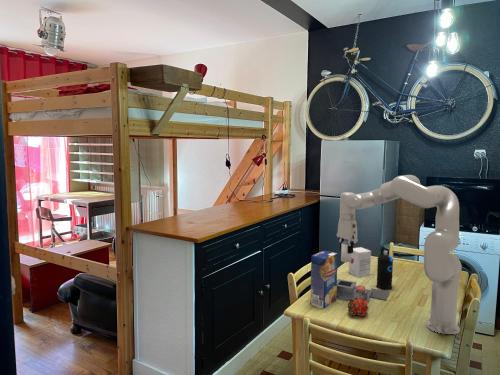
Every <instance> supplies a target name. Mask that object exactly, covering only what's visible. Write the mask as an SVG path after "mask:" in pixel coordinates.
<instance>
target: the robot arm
mask: <svg viewBox="0 0 500 375" xmlns="http://www.w3.org/2000/svg"><path fill="white" fill-rule="evenodd" d="M339 197H340V198H339V218H338V219H339V220H338V224H337V233H336V237H337V239H338V243H339V251H340V252H341V247H342V243H343V241H348V244H349V246H348V254H350V253H353V248H354V246H355V245H356V243H357V242H358V241H359V239H358V225H357V224H358V223H357V220H356V210H362V209H364V210H365V209H367V208H374V207H376V206H380V205H381V204H386V203H389V202H391V201H394V200H398V199H403V200H405V201H407V202H408V203H410V204H413V205H415V206H417V207H419V208H421V209H430V208H435V207H436V208H437V209H436V214H435V228H434V231H431V232H430V233H428V234H427V235H426V237H425V239H424V243H423V270H424V274H425V276H426V277H427V279H428V280H430V281H431V282H432V288H431V302H430V316H429V317H430V318H428V319H427V320H426V321H425V326H426V327H427V328H428V329H429V330H430V331H432V332H434V331H435V332H434V333H437V332H438V333H437V334H440V333H443V334H442V335H444V334H454V335H458V334H459V333H460V329H461V328H460V327H459V325H458V324H456V323H457V311H458V310H457V309H458V298H459V287H460V286H459V285H460V279H461V275H462V268H463V267H462V264H461V261H460V259H459V258H458V257H457V256H456V255H454V254H452V253H450V252H452V251H454V250H456V249H457V248H458V247H459V244H460V202H459V199H458V196H457V195H456V193H454V192H453V191H452V189H450V188H448V187H445V186H443V185H430V186H424V185H422V184H421V182H420V179H419V178H418V177H417V176H415V175H413V174H405V175H398V176H396V177H394V178H393V179H392V180H390V181H387V182H384V183H382V184H381V185H380V187H379V188H376V189H374V190H370V191H367V192H361V193H355V192H351V191H346V192H345V191H343V192H341V193H340V196H339ZM454 335H453V336H454Z"/></svg>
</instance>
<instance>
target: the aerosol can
mask: <svg viewBox="0 0 500 375" xmlns="http://www.w3.org/2000/svg"><path fill="white" fill-rule="evenodd" d="M376 268H377V270H376V285H375V287H376V289H379V290H385V291H391V290H392V289H393V270H394V269H393V268H394V258H393V257H392V256H390V254H389V255H388V251H387V250H383V254H380V255H379V256H378V257H377V267H376Z"/></svg>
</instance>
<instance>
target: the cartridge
mask: <svg viewBox="0 0 500 375" xmlns="http://www.w3.org/2000/svg"><path fill="white" fill-rule="evenodd" d="M348 246H349V244H348V240H345V241H343V243H342V247H341V251H340V252H341V254H340V255H341V256H340V261H341V262H342V263H349V262H351V253H350V254H348Z"/></svg>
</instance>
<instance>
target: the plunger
mask: <svg viewBox="0 0 500 375" xmlns="http://www.w3.org/2000/svg"><path fill="white" fill-rule="evenodd" d="M366 289H367V287H366V286H364V285H356V290H357V292H360V293H364V291H365V290H366Z"/></svg>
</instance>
